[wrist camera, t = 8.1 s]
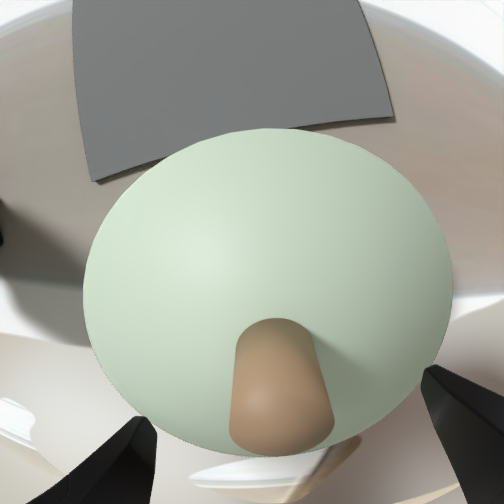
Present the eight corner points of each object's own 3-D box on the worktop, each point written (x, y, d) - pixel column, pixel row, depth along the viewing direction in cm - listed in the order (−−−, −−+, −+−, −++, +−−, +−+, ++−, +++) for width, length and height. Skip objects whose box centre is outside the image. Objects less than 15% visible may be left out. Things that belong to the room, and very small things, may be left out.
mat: (94, 181, 16) (91, 181, 16) (77, -25, 11) (74, -27, 10) (390, 117, 15) (393, 116, 15) (309, -82, 9) (310, -85, 9)
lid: (165, 451, 14) (150, 512, 10) (48, 193, 10) (-36, 218, 5) (421, 409, 13) (450, 465, 9) (434, 114, 9) (520, 103, 4)
